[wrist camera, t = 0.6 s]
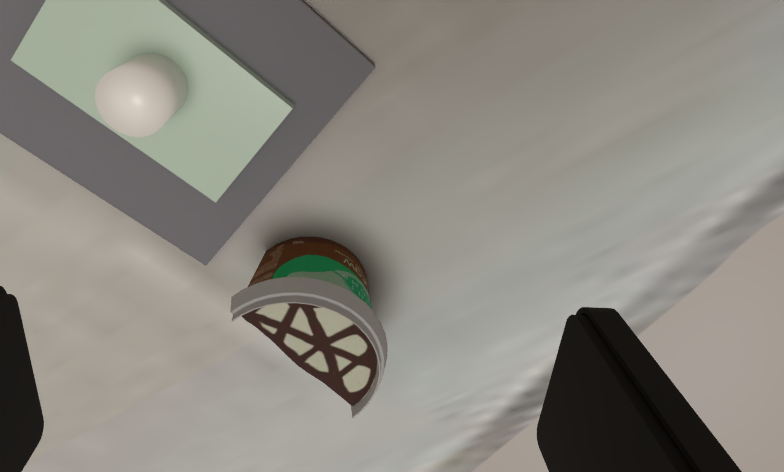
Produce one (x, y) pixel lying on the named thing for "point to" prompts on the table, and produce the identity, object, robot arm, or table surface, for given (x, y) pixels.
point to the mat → (142, 173)
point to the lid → (155, 84)
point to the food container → (319, 315)
